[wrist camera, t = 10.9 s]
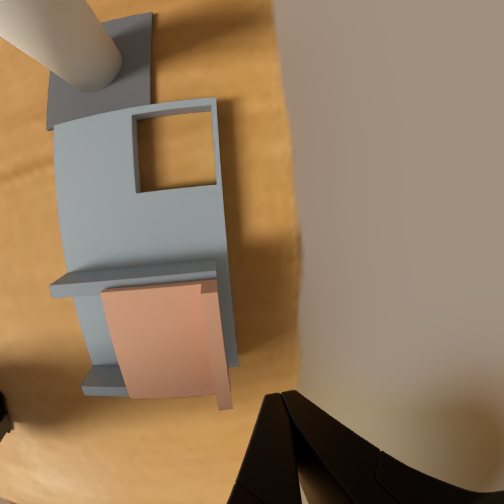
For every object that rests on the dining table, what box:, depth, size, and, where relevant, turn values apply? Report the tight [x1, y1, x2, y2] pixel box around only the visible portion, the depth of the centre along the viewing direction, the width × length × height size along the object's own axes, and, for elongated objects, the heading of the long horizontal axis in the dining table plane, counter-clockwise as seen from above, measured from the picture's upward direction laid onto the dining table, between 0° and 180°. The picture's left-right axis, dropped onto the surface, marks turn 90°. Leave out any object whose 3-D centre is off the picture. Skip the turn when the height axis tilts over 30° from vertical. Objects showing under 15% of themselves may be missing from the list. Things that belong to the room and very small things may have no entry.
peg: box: [0, 0, 122, 93], centre depth 9 cm, size 4×4×14 cm
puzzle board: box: [49, 97, 239, 397], centre depth 17 cm, size 11×18×4 cm, turn 4°
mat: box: [46, 12, 153, 131], centre depth 16 cm, size 8×8×1 cm
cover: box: [100, 279, 233, 410], centre depth 15 cm, size 6×7×2 cm
